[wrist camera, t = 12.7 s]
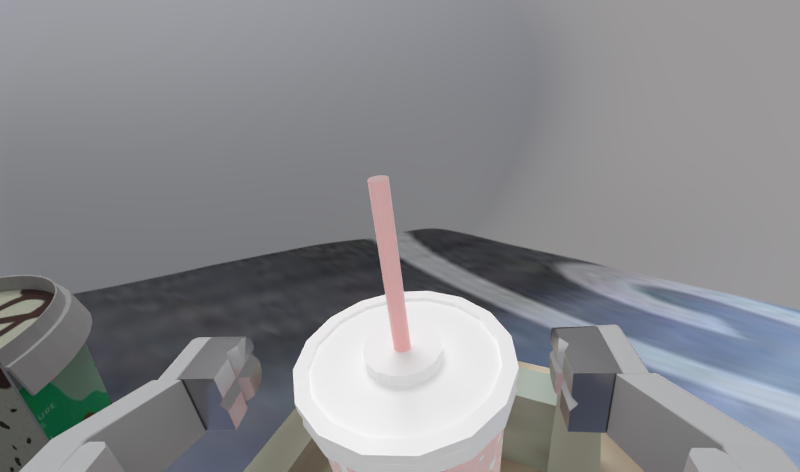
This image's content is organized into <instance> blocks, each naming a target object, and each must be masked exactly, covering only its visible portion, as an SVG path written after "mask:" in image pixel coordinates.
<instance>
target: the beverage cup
mask: <svg viewBox="0 0 800 472" xmlns="http://www.w3.org/2000/svg"><path fill="white" fill-rule="evenodd" d="M367 181H368V187H369V194H370V200H371V207H372V213H373V218H374V225H375V232H376V238H377V245H378V251H379V257H380V264H381V270H382V276H383V283H384V289H385V295H382V296H378V297H375V298H371V299H367V300H363V301H360V302H358V303H357V304H355V305H353V306H351V307H349V308H347V309H345V310H344V311H342V312H340V313H338V314H336V315H334V316H332V317H331V318H330V319H329V320H328V321H327V322H325V323H324V324H323V325H322V326H321V327H320V328H319V329H318V330H317V331H316V332H315V333H314V334H313V335H312V336H311V337H310V338H309V339H308V340H307V341H306V343H305V345H304V348H303V350H302V352H301V354H300V356H299V358H298V360H297V363H296V365H295V367H294V369H293V380H294V397H295V405H296V409H297V412H298V413H299V414H300V416H301V417H302V419H303V426H304V427H305V428H306V430H307V431H308V433H309V434H310V435H311V437H312V438H313V440H314V441H315V442H316V444H317V445H318V447H319V448H320V449H321V451H322V452H323V454H324V455H325V456H326V457H327V458H328V460H329V463H330V465H331V468H332V470H333V472H500V465H501V454H502V444H503V433H504V428H505V427H506V423H507V420H508V417H509V414H510V411H511V408H512V405H513V402H514V398H515V395H516V392H517V387H516V382H517V379H518V376H519V366H518V362H517V358H516V354H515V349H514V345H513V341H512V337H511V335H510V334H509V333H508V332H507V331H506V329H505V328H504V327H503V326H502V325H501V324H500V323H499V322H498V320H497V319H496V318H495V317H494V316H493V315H492V314H491V312H489V311H487V310H485V309H483V308H481V307H479V306H477V305H475V304H473V303H471V302H469V301H467V300H465V299H464V298H462V297H457V296H452V295H447V294H442V293H437V292H431V291H414V292H404V290H403V283H402V275H401V268H400V260H399V253H398V245H397V238H396V230H395V222H394V215H393V208H392V200H391V192H390V185H389V177H388V176H385V175H379V176H374V177H370V178H369V179H368V180H367Z"/></svg>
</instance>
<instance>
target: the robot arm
mask: <svg viewBox="0 0 800 472" xmlns="http://www.w3.org/2000/svg"><path fill="white" fill-rule="evenodd" d="M550 341H551V344H552V346H553V349H554V350H553V351H552V352H551V353H550V354H549V368H550V377H551V381H552V385H553V388H554V392H555V393H556V394H557V395H559V396H560V410H561V413H562V416H563V419H564V422H565V425H566V427H567V430H568V432H596V433H607V436H608V437H610V438H611V439H612V440H613V441H614V442H615V443H616V444H617V445H618V446H619V447H620V448H621V449H622V450H623V451H624V452H625V453H626V454H627V455H628V456H629V457H630V458H631V459H632V460H633V461H634V462H635V463H636V464H637V465H638V466H639V467H640V468H641V469H642V470H643V471H644V472H800V470H799V469H798V468H797V467H796V465H795V464H794V463H793V462H792V461H791V460H790V458H789V457H788V456H787V455H786V454H785V452H784V451H783V450H782V449H781V448H780V447H779V446H777V445H775V444H774V443H772V442H770V441H769V440H767V439H765V438H764V437H762V436H760V435H759V434H757V433H755V432H754V431H752V430H750V429H749V428H747V427H745V426H744V425H742V424H740V423H739V422H737V421H735V420H734V419H732V418H730V417H729V416H727V415H725V414H724V413H722V412H720V411H719V410H717V409H715V408H714V407H712V406H710V405H709V404H707V403H705V402H704V401H702V400H700V399H699V398H697V397H695V396H694V395H692V394H690V393H689V392H687V391H685V390H684V389H682V388H680V387H679V386H677V385H675V384H674V383H672V382H670V381H669V380H667V379H665V378H664V377H662V376H660V375H659V374H657V373H649V371H648V370H647V368H646V367H645V365H644V364H643V362H642V361H641V359H640V358H639V356H638V354H637V353H636V351H635V350H634V348H633V347H632V345H631V344H630V342H629V341H628V339H627V338H626V336H625V335H624V333H623V331H622V330H621V328H620V327H619V326H617V325H598V326H586V327H558V328H552V331H551V338H550ZM253 350H254V346H253V343H252V341H251V339H250V338H247V337H198V338H196V339H193V340H192V341H191V342H190V343H189V344H188V346H187V347H186V348H185V349H184V350H183V351H182V353H181V354H180V355H179V356H178V357H177V358H176V359H175V361H174V362H173V363H172V364H171V365H170V366H169V368H168V369H167V370H166V371H165V372H164V373H163V375H162V376H161V377H160V378H159V379H158V380H152V381H150V382H149V383H147V384H145V385H144V386H142V387H140V388H138V389H137V390H135V391H133V392H132V393H130V394H128V395H126V396H125V397H123V398H121V399H120V400H118V401H116V402H115V403H113V404H111V405H109V406H108V407H106V408H104V409H103V410H101V411H99V412H97V413H96V414H94V415H92V416H91V417H89V418H87V419H85V420H84V421H82V422H80V423H79V424H77V425H75V426H73V427H72V428H70V429H68V430H67V431H65V432H63V433H61V434H60V435H58V436H56V437H55V438H53V439H51V440H50V441H49V442H48V443H47V444H46V445H45V446H44V447H43V448H42V449H41V450H40V451H39V452H38V453H37V454H36V455H35V456H34V457H33V458H32V459H31V460H30V461H29V462H28V463H27V464H26V465H25V466H24V467H23V468H22V469H21V470H20V471H19V472H163V471H164V470H165V469H166V468H167V467H168V466H169V465H171V464H172V463H173V462H174V461H175V460H176V459H177V458H178V457H179V456H181V455H182V454H183V453H184V452H185V451H186V450H187V449H188V448H189V447H191V446H192V445H193V444H194V443H195V442H196V441H197V440H198V439H199V438H201V437H202V436H203V435H204V434H205V433H206V431H211V430H237V428H238V426H239V424H240V422H241V420H242V419H243V417H244V415H245V413H246V411H247V409H248V407H247V402H246V401H248V400H249V399H250V398H252V397H253V396H254V395H255V394H256V392H257V390H258V388H259V386H260V382H261V377H262V372H261V365H260V362H259V360H258V359H257V358H255V357H254V356H253V355H252V352H253Z"/></svg>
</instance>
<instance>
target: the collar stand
mask: <svg viewBox="0 0 800 472" xmlns="http://www.w3.org/2000/svg"><path fill="white" fill-rule="evenodd" d="M517 362H518V366H519V376H518V379H517V382H516V387H517V392H516V395H515V398H514V402H513V405H512V408H511V411H510V414H509V417H508V420H507V423H506V427H505V428H504V433H503V444H502V454H501V465H500V472H644V471H643V470H642V469H641V468H640V467H639V466H638V465H637V464H636V463H635V462H634V461H633V460H632V459H631V458H630V457H629V456H628V455H627V454H626V453H625V452H624V451H623V450H622V449H621V448H620V447H619V446H618V445H617V444H616V443H615V442H614V441H613V440H612V439H611V438H610V437H608V436H607V433H596V432H568V430H567V427H566V425H565V422H564V419H563V416H562V413H561V410H560V396H559V395H557V394H556V393H555V392H554V388H553V385H552V381H551V377H550V368H546V367H542V366H537V365H533V364H528V363H524V362H520V361H517ZM243 472H333V470H332V468H331V465H330V463H329V460H328V458H327V457H326V456H325V455H324V454H323V452H322V451H321V449H320V448H319V447H318V445H317V444H316V442H315V441H314V440H313V438H312V437H311V435H310V434H309V433H308V431H307V430H306V428H305V427H304V426H303V419H302V417H301V416H300V414H299V413H298V412H297V409H296V408H295V409H294V410H293V412H292V413H291V414H290V415H289V417H288V418H287V419H286V420H285V421H284V423H283V424H282V425H281V426H280V428H279V429H278V430H277V431H276V432H275V434H274V435H273V436H272V437H271V438H270V440H269V441H268V442H267V443H266V445H265V446H264V447H263V448H262V449H261V451H260V452H259V453H258V454H257V456H256V457H255V458H254V459H253V460H252V462H251V463H250V464H249V465H248V467H247V468H246V469H245V470H244V471H243Z"/></svg>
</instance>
